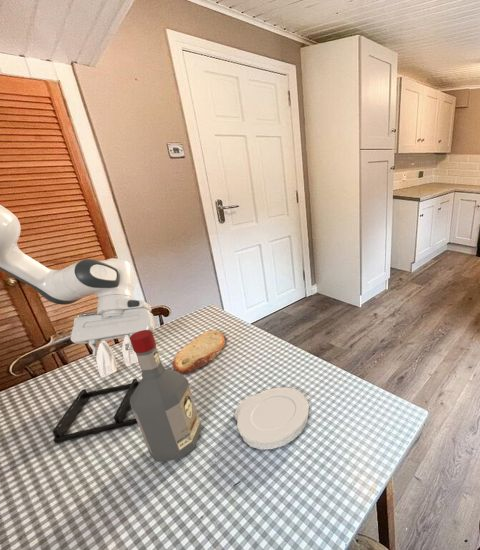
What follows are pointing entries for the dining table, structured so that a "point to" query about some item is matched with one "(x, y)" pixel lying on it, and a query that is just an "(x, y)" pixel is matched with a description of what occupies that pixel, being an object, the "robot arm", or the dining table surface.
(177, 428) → the liquor
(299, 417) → the lid
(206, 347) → the bread slice
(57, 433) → the dish rack
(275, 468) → the dining table surface
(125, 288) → the robot arm
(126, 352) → the shaker set
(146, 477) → the dining table surface
